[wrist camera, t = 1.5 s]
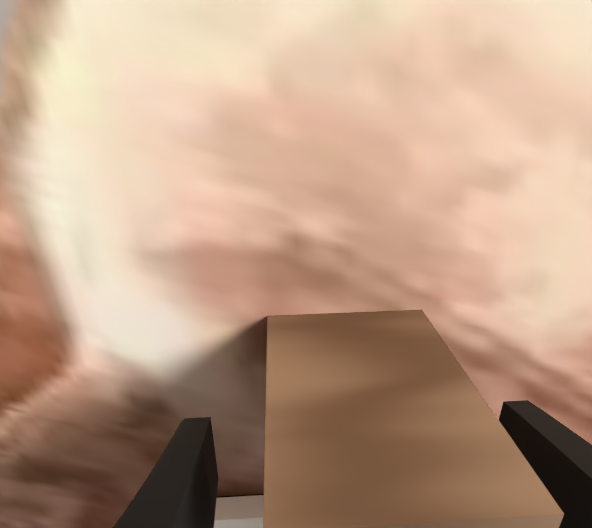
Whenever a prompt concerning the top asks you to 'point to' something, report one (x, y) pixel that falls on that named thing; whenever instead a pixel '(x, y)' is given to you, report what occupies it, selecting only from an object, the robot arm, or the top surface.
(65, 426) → the top surface
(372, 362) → the walnut block
